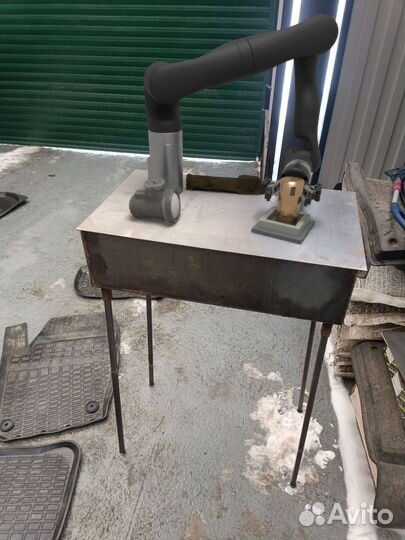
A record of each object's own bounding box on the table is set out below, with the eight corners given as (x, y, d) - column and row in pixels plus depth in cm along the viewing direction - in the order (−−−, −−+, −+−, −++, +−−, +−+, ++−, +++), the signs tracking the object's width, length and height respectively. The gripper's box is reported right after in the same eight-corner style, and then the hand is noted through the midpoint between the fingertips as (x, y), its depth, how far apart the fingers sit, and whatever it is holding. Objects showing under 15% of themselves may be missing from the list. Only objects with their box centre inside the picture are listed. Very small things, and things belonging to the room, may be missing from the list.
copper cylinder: (275, 229, 89) (281, 184, 83) (274, 219, 94) (279, 176, 88) (298, 230, 89) (306, 185, 83) (295, 220, 94) (302, 177, 88)
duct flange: (251, 232, 90) (252, 220, 89) (268, 214, 99) (270, 203, 98) (300, 244, 85) (302, 232, 84) (314, 224, 94) (316, 213, 93)
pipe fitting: (184, 212, 98) (178, 174, 92) (175, 228, 92) (168, 189, 86) (141, 212, 101) (133, 175, 95) (130, 227, 95) (120, 189, 89)
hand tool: (184, 191, 113) (184, 173, 110) (188, 186, 116) (188, 168, 113) (261, 199, 108) (263, 181, 105) (263, 193, 112) (264, 175, 109)
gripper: (270, 160, 99) (257, 180, 86) (326, 166, 96) (322, 188, 83) (267, 187, 103) (254, 210, 90) (321, 194, 100) (316, 219, 87)
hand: (286, 199), depth 86 cm, fingers open, 8 cm apart
